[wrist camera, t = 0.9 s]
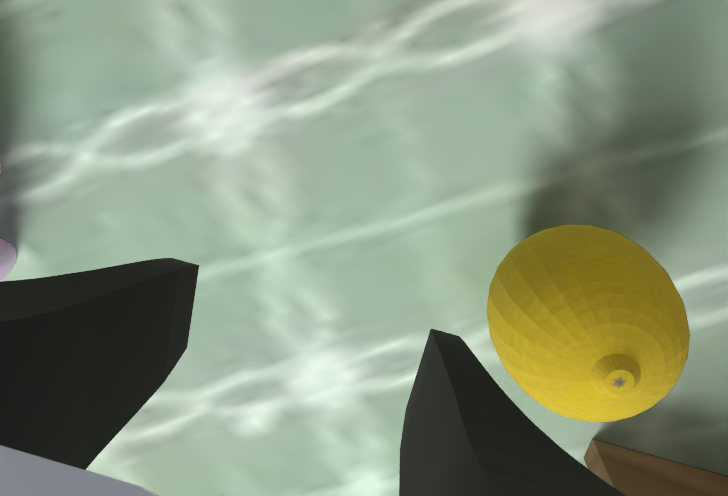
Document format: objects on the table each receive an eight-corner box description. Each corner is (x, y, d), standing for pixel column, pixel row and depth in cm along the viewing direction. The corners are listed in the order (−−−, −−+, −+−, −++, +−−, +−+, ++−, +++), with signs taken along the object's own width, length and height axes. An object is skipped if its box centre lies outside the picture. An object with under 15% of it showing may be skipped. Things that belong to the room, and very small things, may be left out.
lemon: (585, 173, 19) (683, 232, 12) (653, 297, 20) (784, 425, 13) (451, 248, 21) (461, 343, 13) (520, 360, 22) (567, 510, 14)
